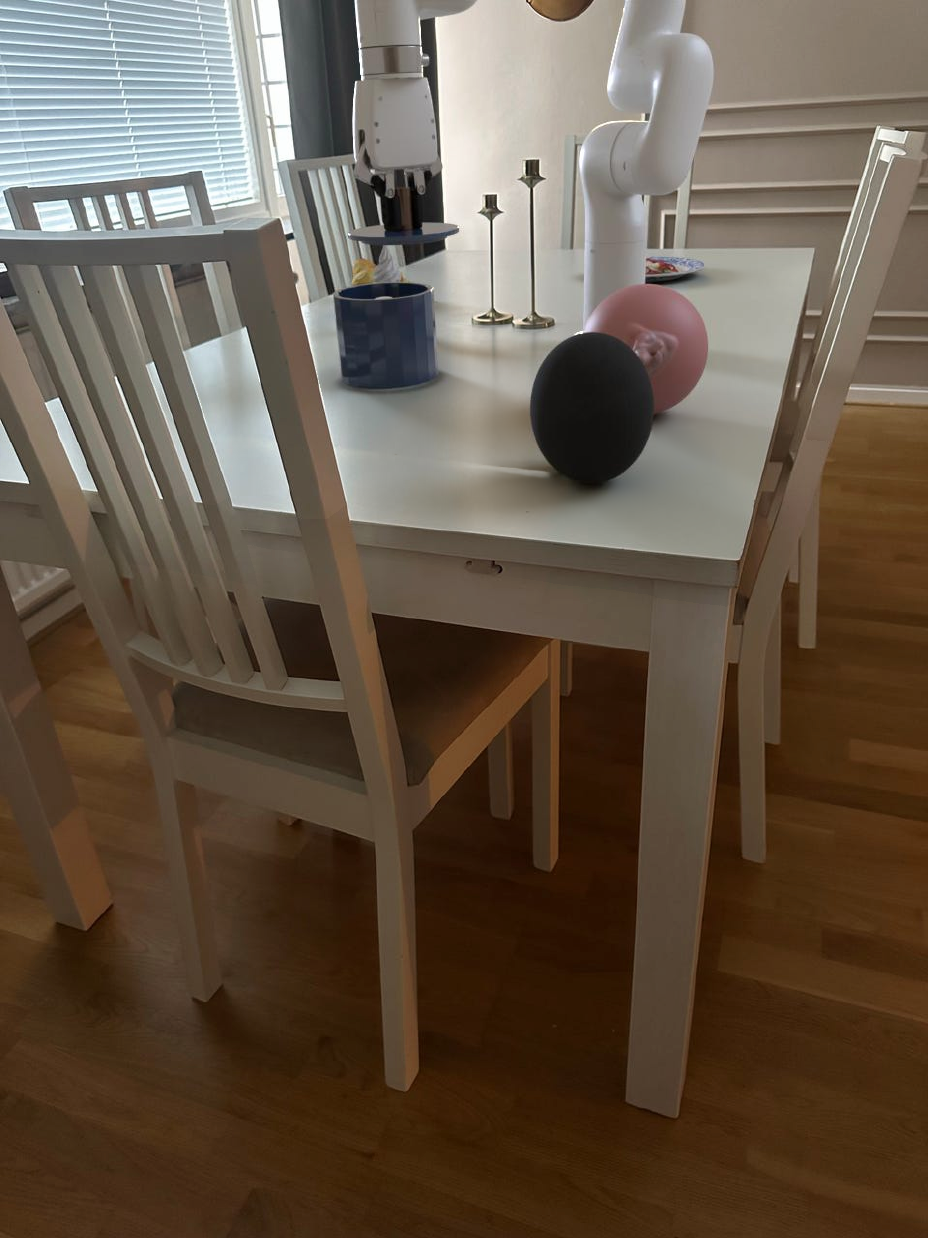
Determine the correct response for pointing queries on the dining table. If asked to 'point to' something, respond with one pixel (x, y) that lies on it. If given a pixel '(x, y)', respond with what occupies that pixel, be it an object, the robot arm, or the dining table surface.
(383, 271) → the ice cream cone
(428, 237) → the lid
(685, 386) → the balloon
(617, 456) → the decorative egg
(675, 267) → the ceramic plate
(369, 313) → the pot
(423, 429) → the dining table surface
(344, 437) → the dining table surface
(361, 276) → the bread roll
